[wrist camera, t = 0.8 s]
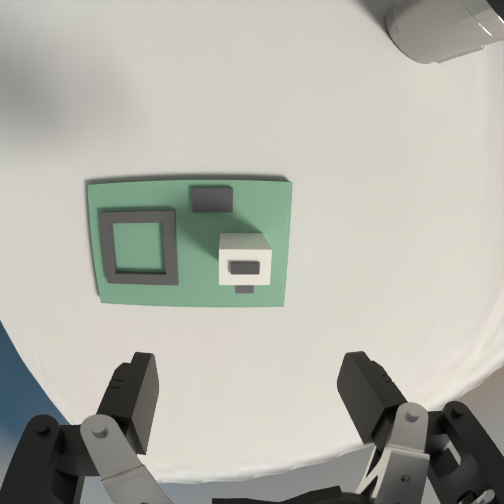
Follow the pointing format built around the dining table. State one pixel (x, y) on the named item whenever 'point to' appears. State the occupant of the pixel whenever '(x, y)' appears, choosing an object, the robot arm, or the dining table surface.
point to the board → (184, 239)
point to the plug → (244, 261)
